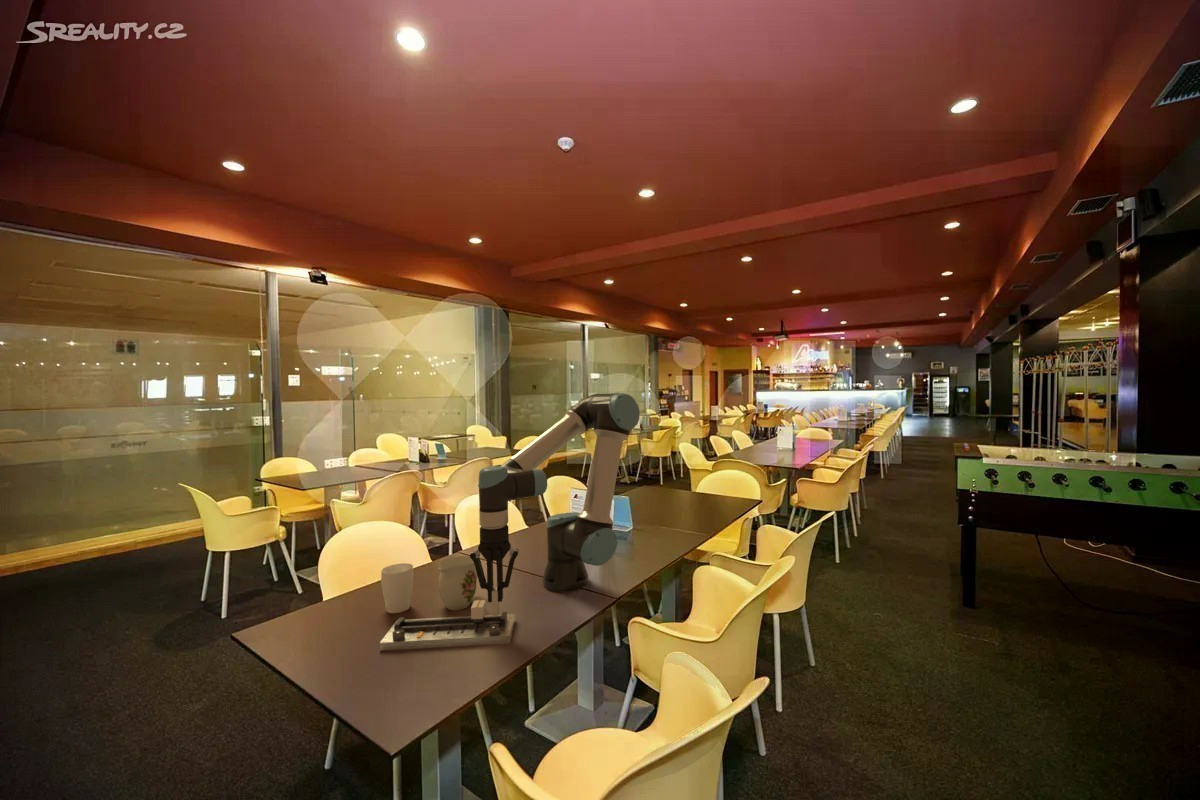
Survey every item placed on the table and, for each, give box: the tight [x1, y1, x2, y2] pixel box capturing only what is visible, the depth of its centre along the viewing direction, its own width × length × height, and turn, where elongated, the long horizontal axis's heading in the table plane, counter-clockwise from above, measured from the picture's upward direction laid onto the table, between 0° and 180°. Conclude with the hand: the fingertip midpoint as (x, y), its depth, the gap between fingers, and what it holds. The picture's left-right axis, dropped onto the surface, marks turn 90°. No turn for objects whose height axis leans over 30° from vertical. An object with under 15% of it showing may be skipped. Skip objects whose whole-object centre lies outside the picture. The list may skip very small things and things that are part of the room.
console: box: [379, 611, 516, 652], centre depth 123 cm, size 32×12×4 cm, turn 94°
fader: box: [470, 599, 487, 623], centre depth 125 cm, size 3×4×5 cm, turn 4°
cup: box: [380, 562, 415, 614], centre depth 140 cm, size 9×9×12 cm
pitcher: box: [437, 555, 478, 611], centre depth 142 cm, size 11×18×14 cm, turn 161°
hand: (495, 613), depth 125 cm, fingers closed
